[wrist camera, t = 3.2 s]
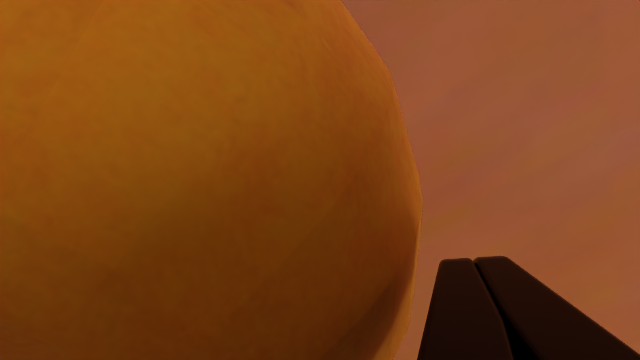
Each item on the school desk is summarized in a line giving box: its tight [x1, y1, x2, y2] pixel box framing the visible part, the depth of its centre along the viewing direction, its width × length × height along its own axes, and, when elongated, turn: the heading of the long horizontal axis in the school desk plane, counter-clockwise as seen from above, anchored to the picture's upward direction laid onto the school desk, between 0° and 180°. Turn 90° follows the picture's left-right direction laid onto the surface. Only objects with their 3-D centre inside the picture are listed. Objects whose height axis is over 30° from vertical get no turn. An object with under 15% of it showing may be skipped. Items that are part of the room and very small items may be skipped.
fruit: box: [0, 0, 423, 360], centre depth 9 cm, size 12×12×10 cm
